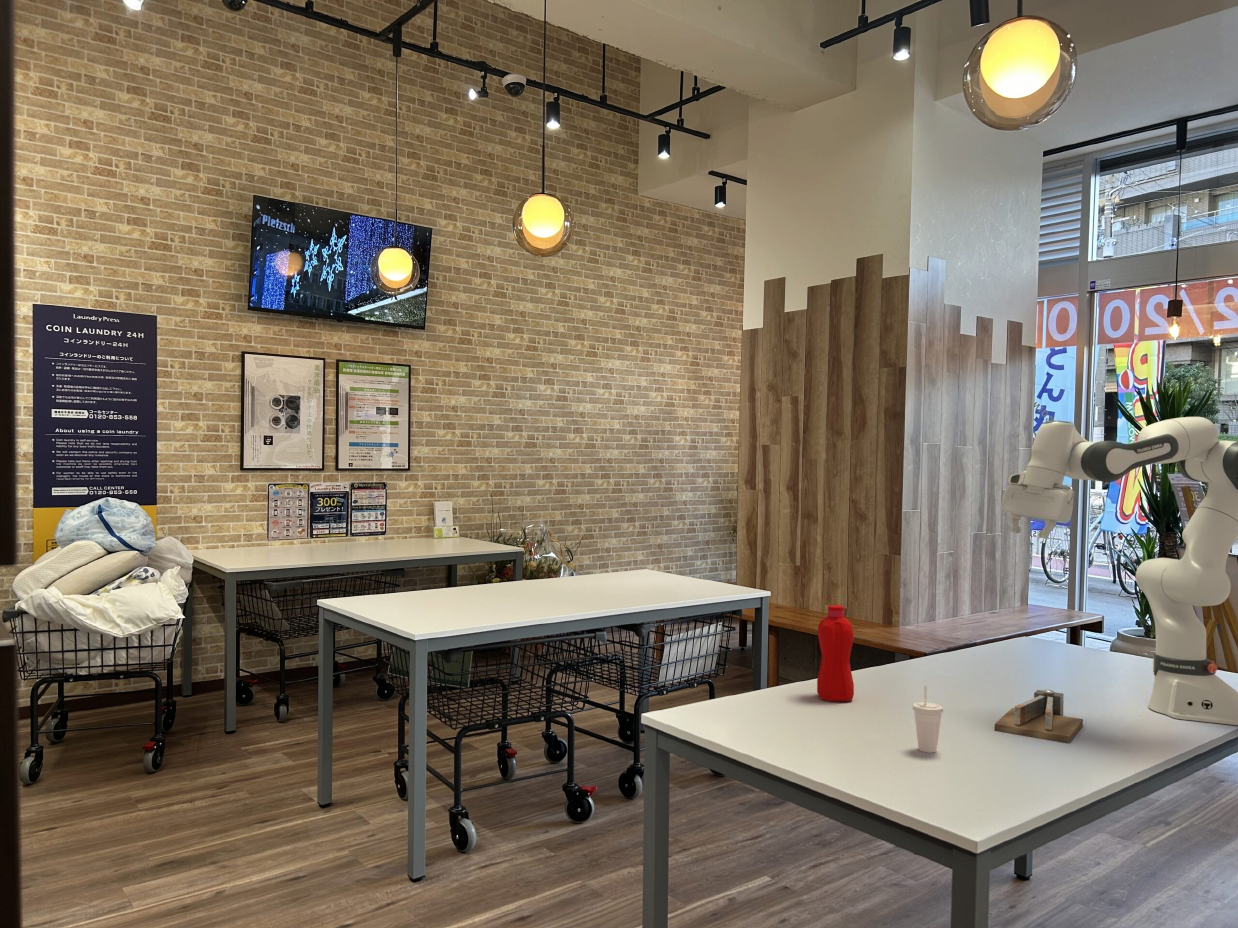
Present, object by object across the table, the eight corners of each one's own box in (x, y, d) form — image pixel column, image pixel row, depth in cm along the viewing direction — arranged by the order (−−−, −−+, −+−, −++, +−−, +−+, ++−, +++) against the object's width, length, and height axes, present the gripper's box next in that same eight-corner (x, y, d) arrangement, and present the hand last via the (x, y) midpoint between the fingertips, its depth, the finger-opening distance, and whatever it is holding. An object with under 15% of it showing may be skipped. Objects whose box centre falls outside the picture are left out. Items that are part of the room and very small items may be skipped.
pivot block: (1063, 717, 221) (1063, 690, 221) (1060, 720, 217) (1060, 694, 217) (1037, 713, 224) (1037, 687, 224) (1033, 716, 221) (1034, 690, 221)
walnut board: (1082, 724, 214) (1082, 718, 214) (1069, 742, 200) (1069, 736, 200) (1012, 713, 224) (1012, 707, 224) (994, 730, 209) (994, 723, 209)
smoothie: (918, 743, 198) (919, 681, 198) (947, 749, 194) (947, 685, 194) (907, 750, 193) (908, 686, 193) (936, 756, 189) (937, 691, 189)
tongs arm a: (1047, 712, 218) (1047, 696, 218) (1053, 713, 218) (1053, 696, 218) (1045, 729, 204) (1045, 711, 204) (1051, 730, 204) (1051, 712, 204)
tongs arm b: (1039, 711, 220) (1040, 694, 220) (1045, 712, 219) (1045, 695, 219) (1014, 723, 208) (1014, 706, 208) (1020, 724, 207) (1020, 707, 207)
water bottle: (848, 692, 243) (849, 602, 243) (855, 703, 232) (856, 608, 232) (814, 691, 244) (815, 601, 244) (819, 702, 233) (820, 607, 233)
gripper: (1085, 489, 213) (1070, 544, 213) (1022, 482, 232) (1009, 532, 232) (1065, 482, 211) (1050, 538, 211) (1004, 476, 230) (990, 527, 230)
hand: (1028, 535), depth 221 cm, fingers open, 8 cm apart
